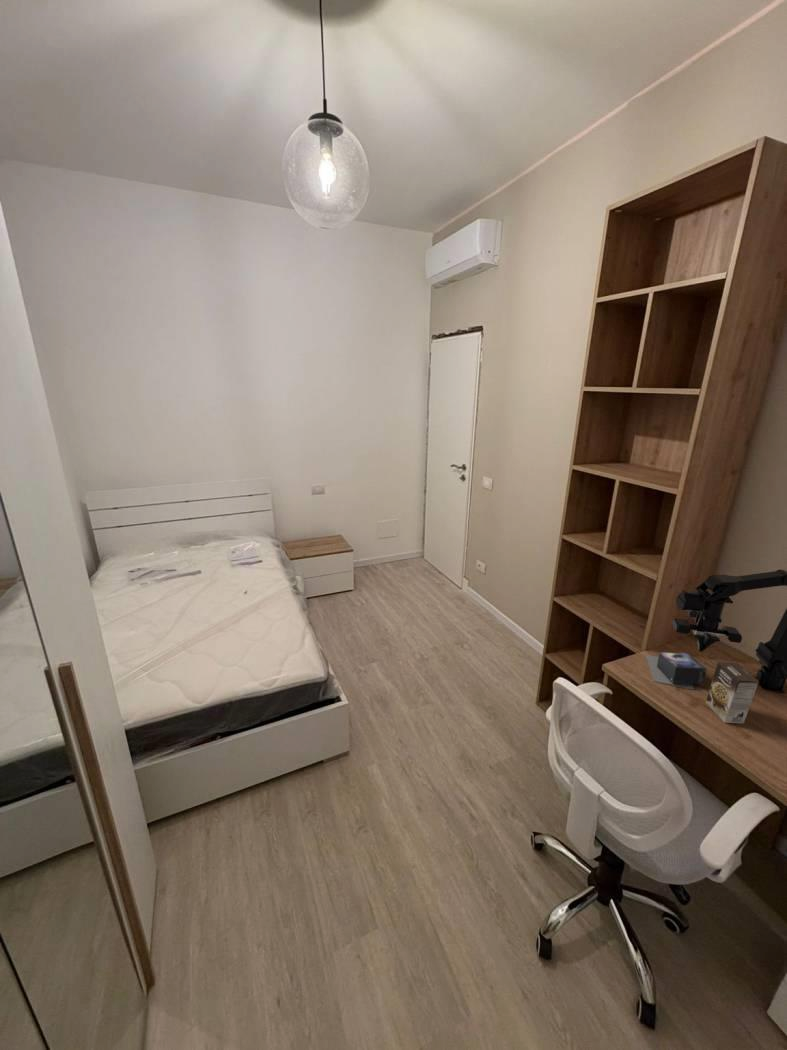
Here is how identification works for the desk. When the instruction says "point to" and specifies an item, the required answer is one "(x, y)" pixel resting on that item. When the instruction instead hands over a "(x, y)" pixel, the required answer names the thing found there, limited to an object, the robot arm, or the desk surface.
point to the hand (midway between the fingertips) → (700, 650)
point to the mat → (660, 676)
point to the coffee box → (731, 692)
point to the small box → (681, 668)
